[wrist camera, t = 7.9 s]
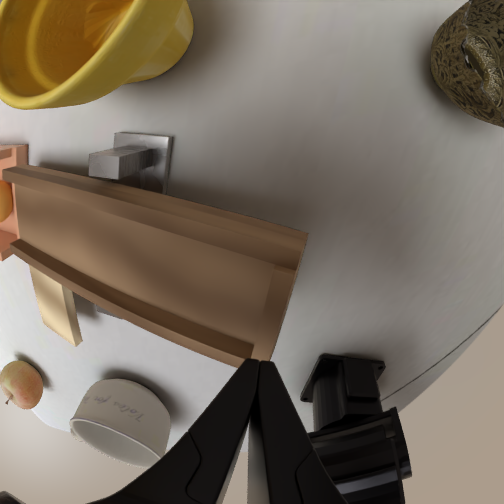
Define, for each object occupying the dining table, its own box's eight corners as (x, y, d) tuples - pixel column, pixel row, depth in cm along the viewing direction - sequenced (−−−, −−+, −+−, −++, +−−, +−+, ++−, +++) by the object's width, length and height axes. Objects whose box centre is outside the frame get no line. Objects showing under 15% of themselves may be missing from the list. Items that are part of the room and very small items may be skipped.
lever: (249, 421, 19) (237, 448, 17) (44, 314, 23) (27, 327, 21) (308, 233, 13) (299, 255, 10) (23, 163, 17) (-2, 170, 15)
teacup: (159, 368, 27) (131, 431, 19) (192, 426, 31) (177, 479, 24) (66, 359, 29) (35, 403, 22) (105, 413, 33) (84, 454, 26)
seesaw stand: (161, 293, 22) (136, 332, 18) (118, 281, 23) (87, 316, 18) (172, 136, 17) (137, 143, 13) (120, 132, 17) (76, 139, 13)
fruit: (40, 389, 34) (18, 421, 27) (11, 356, 32) (-14, 387, 25) (57, 384, 32) (32, 422, 25) (24, 347, 30) (-6, 382, 23)
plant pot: (67, 44, 14) (-28, 32, 6) (172, -44, 11) (110, -111, 2) (126, 136, 18) (20, 160, 9) (253, 44, 14) (222, -30, 6)
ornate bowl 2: (493, 124, 14) (569, 139, 7) (416, 128, 15) (490, 139, 8) (471, 30, 11) (539, 10, 4) (388, 23, 13) (444, -23, 5)
